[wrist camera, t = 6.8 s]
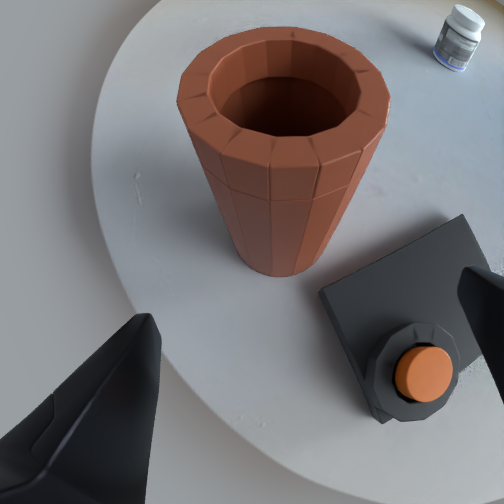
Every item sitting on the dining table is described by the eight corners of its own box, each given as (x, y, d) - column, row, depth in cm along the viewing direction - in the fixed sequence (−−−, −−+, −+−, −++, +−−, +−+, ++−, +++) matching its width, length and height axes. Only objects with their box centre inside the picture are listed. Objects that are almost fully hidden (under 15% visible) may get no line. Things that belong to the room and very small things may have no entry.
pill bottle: (439, 45, 27) (457, 0, 19) (467, 66, 26) (490, 22, 18) (427, 54, 27) (446, 4, 19) (458, 77, 25) (483, 29, 17)
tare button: (404, 407, 15) (416, 413, 13) (386, 363, 16) (398, 365, 14) (445, 380, 15) (459, 382, 13) (428, 337, 16) (442, 336, 14)
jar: (255, 292, 21) (221, 206, 7) (219, 210, 22) (157, 60, 9) (342, 253, 21) (430, 128, 7) (300, 176, 23) (319, 15, 9)
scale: (376, 425, 17) (393, 439, 14) (317, 292, 20) (325, 283, 17) (501, 333, 18) (528, 330, 15) (452, 221, 21) (474, 204, 18)
